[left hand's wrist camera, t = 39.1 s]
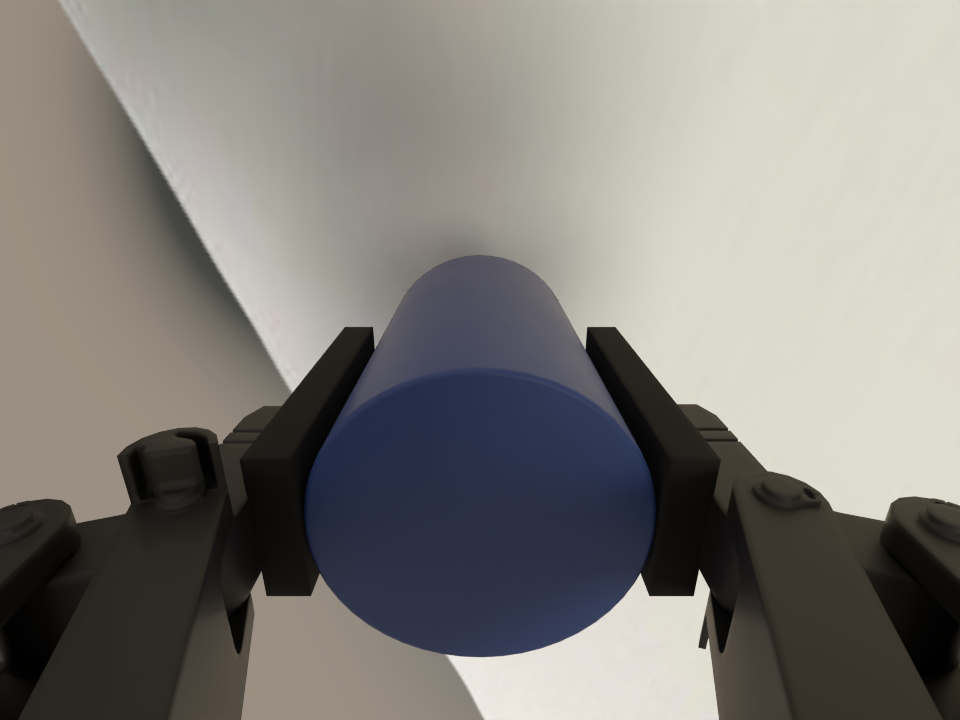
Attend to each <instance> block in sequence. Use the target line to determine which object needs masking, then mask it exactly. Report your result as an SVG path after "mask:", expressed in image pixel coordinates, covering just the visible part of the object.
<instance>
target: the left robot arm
mask: <svg viewBox="0 0 960 720" xmlns="http://www.w3.org/2000/svg"><path fill="white" fill-rule="evenodd" d="M374 351H375V347H374V335H373V327H345V328H344V329H343V330H342V332H341V333H340V334H339V335H338V337H337V338H336V339H335V340H334V342H333V343H332V344H331V345H330V347H329V348H328V349H327V350H326V352H325V353H324V354H323V355H322V357H321V358H320V359H319V360H318V362H317V363H316V364H315V365H314V367H313V368H312V369H311V370H310V372H309V373H308V374H307V375H306V377H305V378H304V379H303V380H302V382H301V383H300V384H299V385H298V387H297V388H296V389H295V390H294V392H293V393H292V394H291V396H290V397H289V398H288V399H287V401H286V402H285V403H284V404H283V406H263V407H262V408H260V409H258V410H256V411H255V412H253V413H251V414H249V415H248V416H246V417H244V418H243V420H242V421H241V422H240V423H239V424H238V425H237V426H236V427H235V428H234V429H233V433H230V434H229V435H228V436H227V437H226V438H225V439H224V440H223V444H220V445H218V440H217V435H216V434H214V433H213V432H212V431H210V430H208V429H202V428H197V427H192V428H177V429H172V430H167V431H162V432H158V433H156V434H153V435H150V436H147V437H144V438H142V439H140V440H138V441H136V442H134V443H133V444H131V445H129V446H127V447H126V448H125V449H124V450H123V451H122V452H121V453H120V454H119V455H118V456H117V458H118V461H119V465H120V468H121V471H122V474H123V478H124V481H125V484H126V488H127V491H128V494H129V497H130V501H131V505H130V507H129V509H128V511H127V513H126V514H123V515H118V516H113V517H108V518H103V519H98V520H92V521H87V522H82V523H77V524H76V521H75V518H74V515H73V512H72V510H71V507H70V505H68V504H67V503H65V502H64V501H62V500H53V499H42V500H35V501H25V502H21V503H17V505H14V504H13V505H10V506H7V507H4V508H1V509H0V720H241V715H242V707H243V699H244V691H245V684H246V675H247V668H248V660H249V652H250V644H251V636H252V628H253V621H254V609H253V603H252V598H251V593H250V592H251V590H252V588H253V586H254V584H255V582H256V580H257V578H258V577H259V575H260V573H261V571H262V575H263V580H264V585H265V590H266V595H267V596H311V594H312V592H313V589H314V587H315V584H316V581H317V579H318V576H319V574H320V572H319V571H318V569H317V567H316V564H315V562H314V560H313V557H312V555H311V552H310V549H309V545H308V541H307V537H306V533H305V523H304V499H305V490H306V486H307V482H308V478H309V474H310V471H311V469H312V467H313V464H314V462H315V460H316V457H317V455H318V453H319V451H320V449H321V448H322V446H323V444H324V442H325V440H326V438H327V437H328V435H329V433H330V431H331V429H332V427H333V426H334V424H335V422H336V420H337V418H338V416H339V415H340V413H341V411H342V409H343V407H344V406H345V404H346V402H347V400H348V398H349V396H350V395H351V393H352V391H353V389H354V387H355V385H356V384H357V382H358V380H359V378H360V376H361V374H362V373H363V371H364V369H365V367H366V365H367V363H368V362H369V360H370V358H371V356H372V354H373V352H374ZM586 352H587V354H588V356H589V358H590V359H591V361H592V363H593V365H594V367H595V369H596V370H597V372H598V374H599V376H600V378H601V380H602V381H603V383H604V385H605V387H606V389H607V390H608V392H609V394H610V396H611V398H612V400H613V401H614V403H615V405H616V407H617V409H618V411H619V412H620V414H621V416H622V418H623V420H624V421H625V423H626V425H627V427H628V429H629V431H630V432H631V434H632V436H633V438H634V440H635V441H636V443H637V445H638V447H639V449H640V451H641V452H642V455H643V457H644V459H645V461H646V464H647V466H648V468H649V470H650V474H651V477H652V481H653V485H654V489H655V497H656V507H657V513H656V527H655V533H654V538H653V542H652V547H651V550H650V553H649V555H648V558H647V560H646V563H645V565H644V567H643V569H642V571H641V575H642V578H643V580H644V583H645V586H646V588H647V591H648V593H649V596H694V592H695V587H696V582H697V577H698V572H699V569H700V571H701V573H702V575H703V577H704V579H705V581H706V583H707V584H708V586H709V588H710V593H709V598H708V602H707V607H706V612H705V616H704V621H703V626H702V630H701V635H700V641H699V648H703V649H706V645H707V641H708V638H709V643H710V651H711V659H712V666H713V674H714V682H715V690H716V698H717V706H718V713H719V720H960V506H959V505H956V504H953V503H950V502H947V503H946V502H945V501H943V500H938V499H933V498H932V499H929V498H922V497H904V498H899V499H897V500H896V501H894V502H893V503H891V505H890V508H889V511H888V514H887V517H886V519H885V521H880V520H875V519H870V518H865V517H859V516H854V515H849V514H844V513H839V512H835V511H833V510H832V508H831V506H830V504H829V502H828V501H827V500H826V499H825V498H824V497H823V495H822V494H821V493H820V492H819V491H817V490H816V489H814V488H812V487H811V486H809V485H808V484H806V483H804V482H802V481H800V480H797V479H795V478H792V477H790V476H787V475H783V474H779V473H774V472H768V471H767V470H766V469H765V468H764V467H763V466H762V465H761V464H760V463H759V462H758V461H757V460H756V458H755V457H754V456H753V455H752V454H751V453H750V452H749V451H748V450H747V449H746V448H745V446H744V445H743V444H742V443H741V442H738V439H737V438H736V437H735V435H734V434H733V433H732V432H731V431H728V428H727V427H726V426H725V425H724V423H723V422H722V421H721V420H720V419H719V418H718V417H717V416H716V415H714V414H713V413H711V412H709V411H707V410H706V409H704V408H702V407H700V406H699V405H697V404H676V403H675V401H674V400H673V399H672V398H671V396H670V395H669V394H668V393H667V391H666V390H665V389H664V388H663V386H662V385H661V384H660V383H659V381H658V380H657V379H656V378H655V376H654V375H653V374H652V372H651V371H650V370H649V369H648V367H647V366H646V365H645V364H644V362H643V361H642V360H641V359H640V357H639V356H638V355H637V354H636V352H635V351H634V350H633V349H632V347H631V346H630V345H629V344H628V342H627V341H626V340H625V339H624V337H623V336H622V335H621V334H620V332H619V331H618V330H617V329H616V327H587V339H586Z"/></svg>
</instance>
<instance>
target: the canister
mask: <svg viewBox="0 0 960 720" xmlns="http://www.w3.org/2000/svg"><path fill="white" fill-rule="evenodd" d="M656 513H657V507H656V497H655V489H654V485H653V481H652V477H651V474H650V470H649V468H648V466H647V464H646V461H645V459H644V457H643V455H642V452H641V451H640V449H639V447H638V445H637V443H636V441H635V440H634V438H633V436H632V434H631V432H630V431H629V429H628V427H627V425H626V423H625V421H624V420H623V418H622V416H621V414H620V412H619V411H618V409H617V407H616V405H615V403H614V401H613V400H612V398H611V396H610V394H609V392H608V390H607V389H606V387H605V385H604V383H603V381H602V380H601V378H600V376H599V374H598V372H597V370H596V369H595V367H594V365H593V363H592V361H591V359H590V358H589V356H588V354H587V352H586V350H585V349H584V347H583V345H582V343H581V341H580V339H579V338H578V336H577V334H576V332H575V330H574V329H573V327H572V325H571V323H570V321H569V319H568V318H567V316H566V314H565V312H564V310H563V308H562V307H561V305H560V303H559V301H558V299H557V298H556V296H555V295H554V293H553V292H552V290H551V289H550V288H549V287H548V286H547V284H546V283H545V282H544V281H543V280H542V279H541V278H539V277H538V276H537V275H536V274H535V273H533V272H532V271H530V270H529V269H527V268H526V267H524V266H522V265H520V264H518V263H516V262H513V261H510V260H507V259H504V258H499V257H494V256H482V255H477V256H466V257H461V258H456V259H453V260H450V261H447V262H445V263H442V264H440V265H438V266H436V267H434V268H433V269H431V270H430V271H428V272H427V273H425V274H424V275H423V276H422V277H421V278H419V279H418V280H417V281H416V282H415V283H414V284H413V286H412V287H411V288H410V289H409V290H408V292H407V293H406V295H405V296H404V298H403V300H402V301H401V303H400V305H399V307H398V309H397V310H396V312H395V314H394V316H393V318H392V320H391V321H390V323H389V325H388V327H387V329H386V331H385V332H384V334H383V336H382V338H381V340H380V341H379V343H378V345H377V347H376V349H375V351H374V352H373V354H372V356H371V358H370V360H369V362H368V363H367V365H366V367H365V369H364V371H363V373H362V374H361V376H360V378H359V380H358V382H357V384H356V385H355V387H354V389H353V391H352V393H351V395H350V396H349V398H348V400H347V402H346V404H345V406H344V407H343V409H342V411H341V413H340V415H339V416H338V418H337V420H336V422H335V424H334V426H333V427H332V429H331V431H330V433H329V435H328V437H327V438H326V440H325V442H324V444H323V446H322V448H321V449H320V451H319V453H318V455H317V457H316V460H315V462H314V464H313V467H312V469H311V471H310V474H309V478H308V482H307V486H306V490H305V499H304V523H305V533H306V537H307V541H308V545H309V549H310V552H311V555H312V557H313V560H314V562H315V564H316V567H317V569H318V571H319V572H320V574H321V576H322V577H323V579H324V581H325V582H326V584H327V585H328V587H329V588H330V589H331V590H332V592H333V593H334V594H335V595H336V597H337V598H338V599H339V600H340V601H341V602H342V603H343V604H344V605H345V606H346V607H347V608H348V609H349V610H350V611H351V612H352V613H354V614H355V615H356V616H358V617H359V618H360V619H362V620H363V621H364V622H366V623H367V624H368V625H370V626H372V627H373V628H375V629H377V630H378V631H380V632H382V633H383V634H385V635H387V636H389V637H392V638H394V639H396V640H398V641H400V642H403V643H405V644H408V645H411V646H414V647H417V648H420V649H424V650H428V651H432V652H436V653H441V654H448V655H455V656H465V657H494V656H506V655H512V654H519V653H524V652H528V651H532V650H536V649H540V648H543V647H546V646H549V645H552V644H555V643H557V642H560V641H562V640H564V639H566V638H569V637H571V636H573V635H575V634H577V633H579V632H580V631H582V630H584V629H585V628H587V627H589V626H590V625H592V624H593V623H595V622H596V621H597V620H599V619H600V618H601V617H603V616H604V615H605V614H606V613H608V612H609V611H610V610H611V609H612V608H613V607H614V606H615V605H616V604H617V603H618V602H619V601H620V600H621V599H622V598H623V597H624V596H625V595H626V593H627V592H628V591H629V589H630V588H631V587H632V585H633V584H634V583H635V581H636V580H637V578H638V576H639V574H640V573H641V571H642V569H643V567H644V565H645V563H646V560H647V558H648V555H649V553H650V550H651V547H652V542H653V538H654V533H655V527H656Z"/></svg>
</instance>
